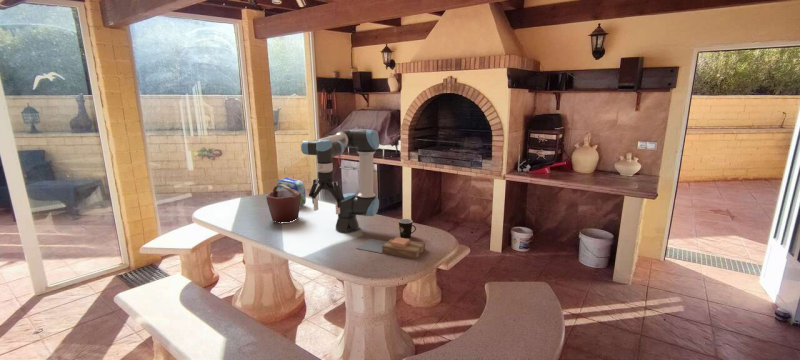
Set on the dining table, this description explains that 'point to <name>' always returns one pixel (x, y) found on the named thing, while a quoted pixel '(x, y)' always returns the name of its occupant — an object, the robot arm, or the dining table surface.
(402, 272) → the dining table surface
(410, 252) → the block
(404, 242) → the tile
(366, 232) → the dining table surface
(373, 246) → the mat
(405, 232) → the coffee mug
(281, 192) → the bucket
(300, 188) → the lunch box
